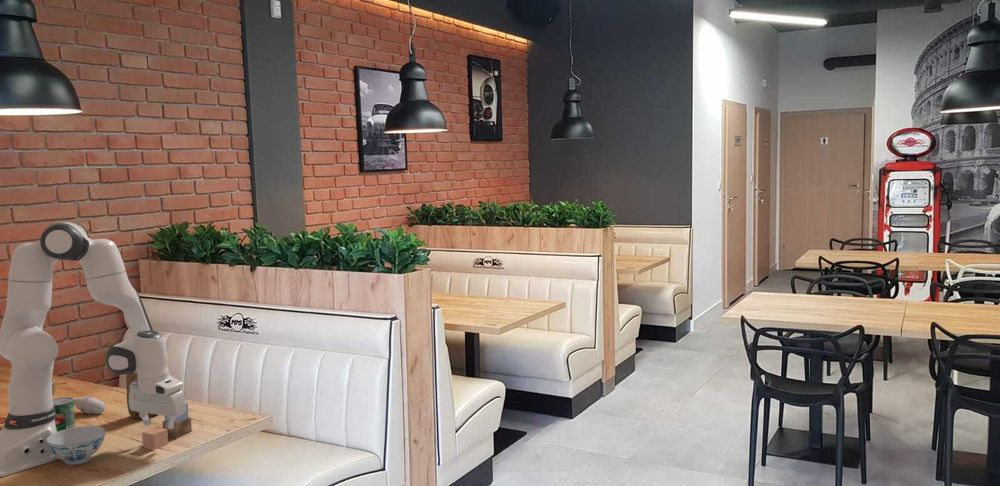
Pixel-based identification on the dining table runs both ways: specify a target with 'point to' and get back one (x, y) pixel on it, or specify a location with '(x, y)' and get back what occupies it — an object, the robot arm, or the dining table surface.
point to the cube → (155, 438)
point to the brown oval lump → (129, 380)
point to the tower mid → (181, 417)
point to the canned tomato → (64, 413)
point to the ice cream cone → (89, 405)
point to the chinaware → (76, 443)
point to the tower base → (179, 428)
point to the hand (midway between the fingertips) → (158, 426)
